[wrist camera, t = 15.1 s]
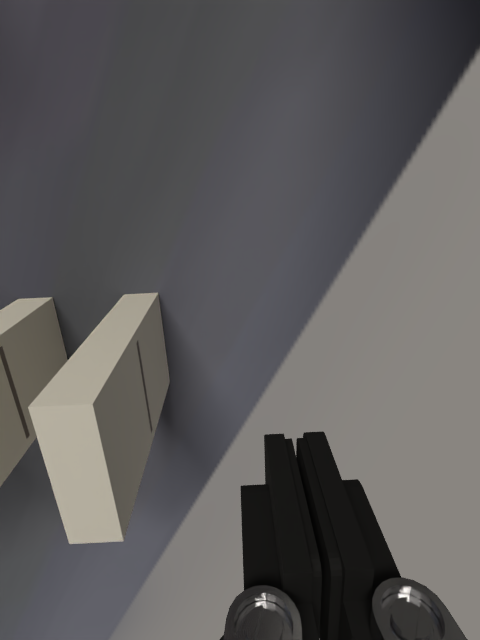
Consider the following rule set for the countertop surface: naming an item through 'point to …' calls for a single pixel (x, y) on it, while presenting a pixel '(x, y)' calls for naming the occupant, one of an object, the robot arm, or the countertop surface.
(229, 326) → the countertop surface
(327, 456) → the robot arm
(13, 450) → the domino
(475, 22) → the countertop surface
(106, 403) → the domino
